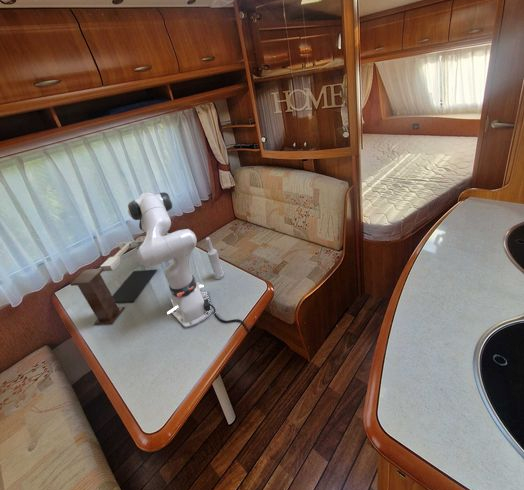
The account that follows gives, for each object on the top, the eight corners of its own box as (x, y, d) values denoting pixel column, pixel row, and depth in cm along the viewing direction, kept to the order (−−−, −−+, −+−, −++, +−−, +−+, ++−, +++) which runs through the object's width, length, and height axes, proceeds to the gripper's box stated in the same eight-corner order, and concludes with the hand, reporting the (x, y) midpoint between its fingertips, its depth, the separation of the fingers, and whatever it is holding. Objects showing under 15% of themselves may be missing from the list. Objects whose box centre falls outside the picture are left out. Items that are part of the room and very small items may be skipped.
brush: (112, 271, 138) (110, 265, 137) (102, 271, 139) (99, 266, 138) (136, 246, 158) (134, 241, 156) (127, 247, 159) (124, 242, 158)
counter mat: (133, 302, 143) (132, 301, 143) (107, 303, 147) (106, 302, 146) (156, 270, 167) (156, 269, 166) (134, 272, 170) (133, 271, 169)
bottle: (222, 279, 146) (210, 241, 136) (213, 279, 148) (201, 241, 137) (225, 273, 151) (214, 235, 141) (217, 273, 152) (205, 236, 142)
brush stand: (112, 324, 131) (88, 282, 121) (94, 324, 133) (69, 283, 123) (124, 308, 140) (103, 268, 130) (107, 308, 142) (85, 269, 132)
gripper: (128, 239, 171) (111, 241, 158) (157, 236, 167) (142, 238, 154) (128, 249, 171) (112, 252, 157) (157, 247, 166) (143, 249, 153)
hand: (127, 245), depth 155 cm, fingers closed on brush, 2 cm apart
